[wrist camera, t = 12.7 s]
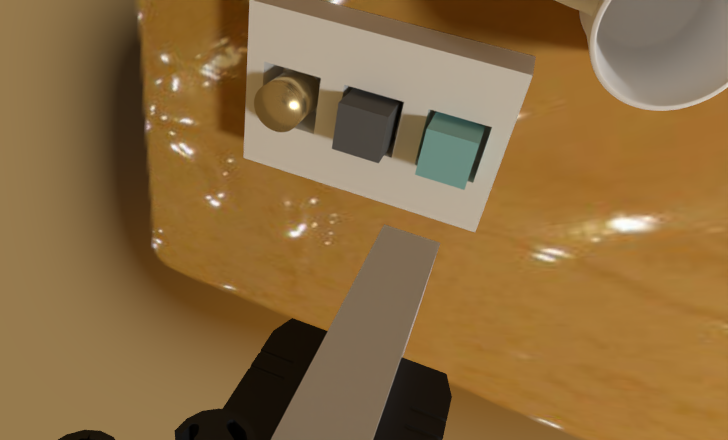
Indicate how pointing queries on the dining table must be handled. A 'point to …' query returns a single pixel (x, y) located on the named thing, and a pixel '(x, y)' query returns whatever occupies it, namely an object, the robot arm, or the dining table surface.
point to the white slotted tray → (390, 79)
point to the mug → (657, 49)
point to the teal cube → (449, 150)
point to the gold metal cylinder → (286, 100)
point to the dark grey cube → (366, 124)
